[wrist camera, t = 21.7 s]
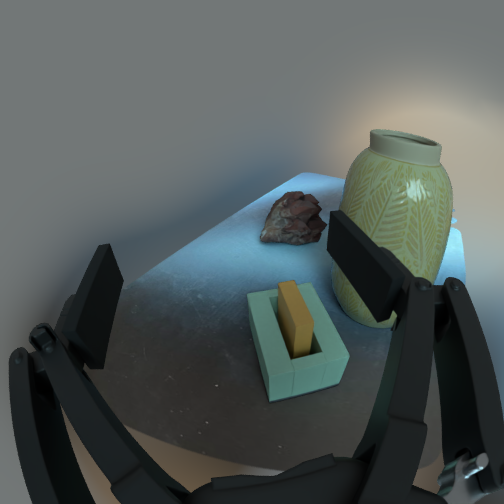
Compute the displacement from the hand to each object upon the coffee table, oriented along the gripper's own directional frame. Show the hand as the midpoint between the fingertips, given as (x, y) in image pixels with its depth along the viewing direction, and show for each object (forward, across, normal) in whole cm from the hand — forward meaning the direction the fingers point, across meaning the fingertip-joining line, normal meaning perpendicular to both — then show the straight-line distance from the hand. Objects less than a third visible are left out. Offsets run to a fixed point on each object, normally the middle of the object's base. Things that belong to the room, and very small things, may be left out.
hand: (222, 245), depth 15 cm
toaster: (+7, +7, -23) cm, 25 cm away
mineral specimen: (+35, +16, -24) cm, 45 cm away
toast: (+7, +7, -23) cm, 25 cm away
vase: (+13, +24, -23) cm, 36 cm away
